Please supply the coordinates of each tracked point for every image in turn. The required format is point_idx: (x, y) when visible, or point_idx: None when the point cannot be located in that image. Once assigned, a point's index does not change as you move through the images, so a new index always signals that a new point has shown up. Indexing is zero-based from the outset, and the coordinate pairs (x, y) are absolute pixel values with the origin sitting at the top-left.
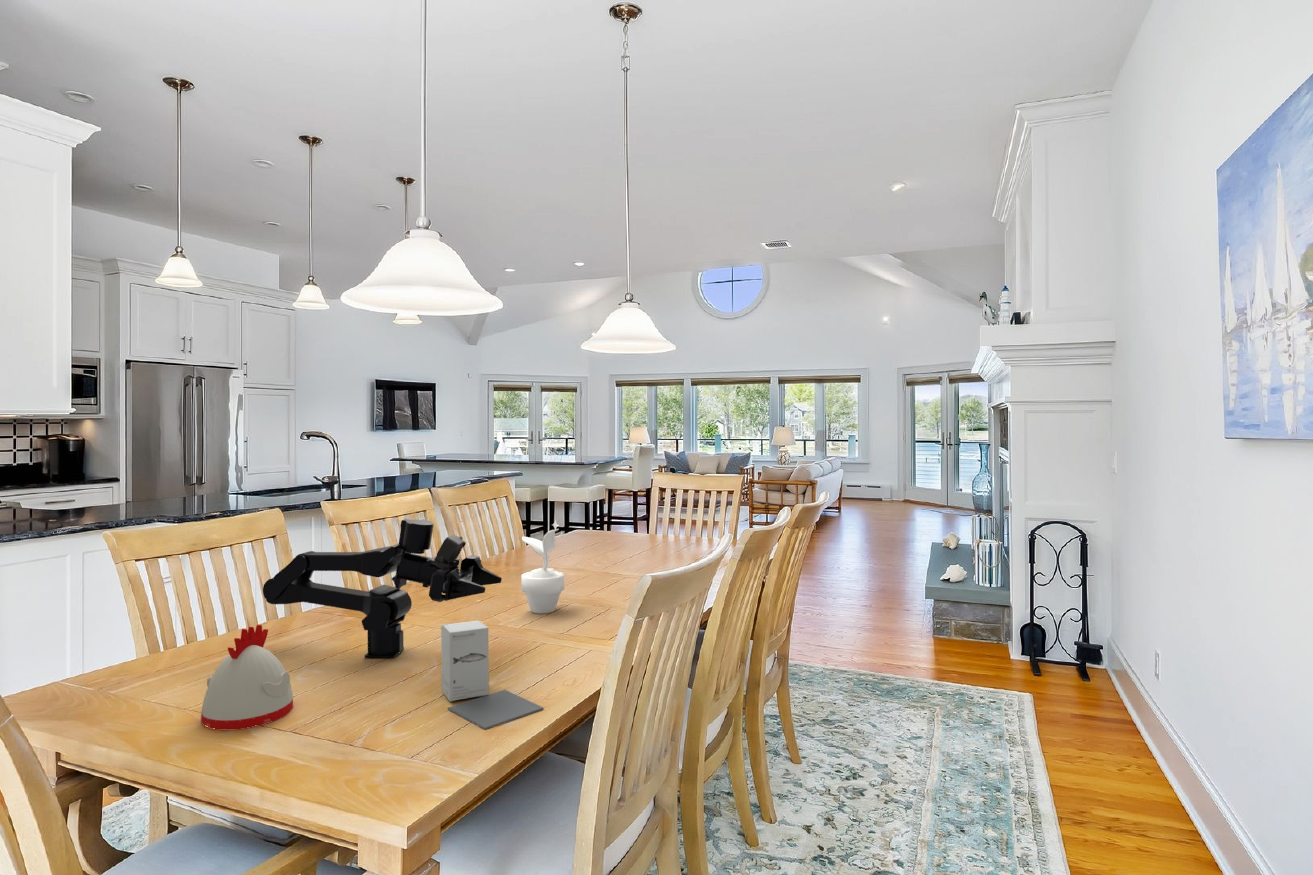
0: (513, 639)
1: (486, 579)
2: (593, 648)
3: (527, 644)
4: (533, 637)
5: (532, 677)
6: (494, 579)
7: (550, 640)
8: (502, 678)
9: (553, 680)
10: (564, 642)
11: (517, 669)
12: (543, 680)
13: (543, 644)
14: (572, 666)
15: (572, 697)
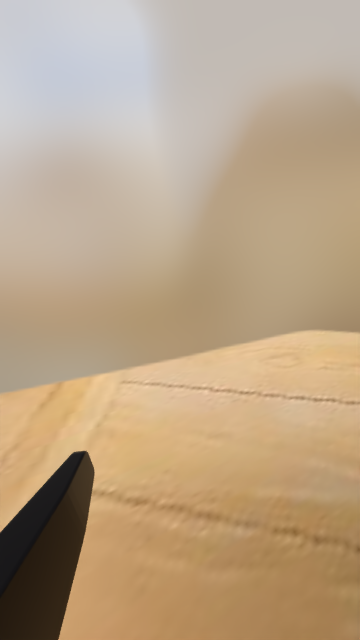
0: None
1: (40, 620)
2: (113, 381)
3: None
4: None
5: (299, 417)
6: (74, 511)
7: None
8: (347, 475)
9: (291, 381)
10: (70, 441)
11: (274, 467)
12: (301, 394)
13: None
14: (214, 379)
15: (335, 339)
